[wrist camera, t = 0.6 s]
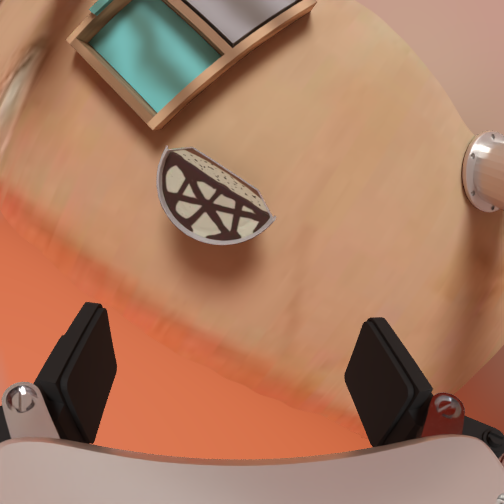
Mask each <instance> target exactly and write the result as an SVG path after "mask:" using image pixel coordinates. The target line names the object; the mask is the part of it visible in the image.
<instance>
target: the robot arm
mask: <svg viewBox="0 0 504 504" xmlns="http://www.w3.org/2000/svg"><path fill="white" fill-rule="evenodd" d="M462 176H463V185H464V189H465V192H466V195H467V197H468V199H469V201H470V202H471V203H472V204H473V205H474V206H475V207H476V208H478V209H479V210H481V211H484V212H494V211H497V210H499V209H502V210H504V136H503V135H502V134H500V133H498V132H494V131H484V132H482V133H480V134H478V135H477V136H476V137H475V138H474V139H473V140H472V142H471V143H470V144H469V147H468V149H467V151H466V154H465V157H464V162H463V173H462ZM116 371H117V364H116V359H115V354H114V349H113V344H112V338H111V332H110V327H109V321H108V314H107V310H106V309H105V308H103V307H102V305H101V304H98V303H90V302H86V303H85V304H84V305H83V307H82V308H81V310H80V311H79V313H78V314H77V316H76V318H75V319H74V321H73V322H72V324H71V325H70V327H69V329H68V330H67V332H66V334H65V335H63V336H61V338H60V339H59V341H58V342H57V344H56V346H55V347H54V349H53V351H52V352H51V354H50V356H49V357H48V359H47V361H46V362H45V364H44V366H43V368H42V369H41V371H40V373H39V375H38V377H37V378H36V380H35V382H34V384H32V383H29V382H20V383H15V384H13V385H11V386H10V387H9V388H8V389H6V391H5V392H4V394H3V397H2V406H0V504H504V435H503V434H502V433H501V432H500V431H499V430H497V429H496V428H493V427H491V426H488V425H486V424H483V423H481V422H479V421H476V420H474V419H471V418H469V417H467V416H465V408H464V406H463V403H462V402H461V401H460V400H459V399H458V398H457V397H456V396H454V395H452V394H449V393H438V394H435V395H434V396H433V394H432V393H431V392H432V390H433V388H432V386H431V385H430V383H429V382H428V380H427V379H426V377H425V376H424V374H423V373H422V371H421V370H420V368H419V367H418V365H417V364H416V362H415V361H414V359H413V358H412V357H411V355H410V354H409V352H408V351H407V349H406V348H405V346H404V345H403V344H402V342H401V341H400V339H399V338H398V336H397V335H396V334H395V332H394V331H393V329H392V328H391V326H390V325H389V324H388V322H387V321H386V320H385V318H382V317H379V318H369V319H368V320H367V321H366V322H364V323H363V325H362V328H361V331H360V334H359V337H358V340H357V342H356V345H355V348H354V351H353V353H352V356H351V359H350V361H349V364H348V367H347V369H346V372H345V382H346V385H347V387H348V390H349V392H350V394H351V397H352V399H353V402H354V404H355V406H356V409H357V411H358V414H359V416H360V419H361V421H362V424H363V426H364V429H365V431H366V434H367V436H368V439H369V441H370V444H371V445H372V446H373V447H372V448H367V449H361V450H355V451H349V452H342V453H335V454H327V455H318V456H309V457H298V458H282V459H259V460H221V459H199V458H183V457H172V456H162V455H154V454H146V453H139V452H132V451H126V450H119V449H113V448H108V447H102V446H97V445H92V444H93V443H94V441H95V438H96V434H97V430H98V428H99V424H100V421H101V418H102V414H103V411H104V408H105V405H106V402H107V399H108V396H109V393H110V390H111V387H112V384H113V381H114V378H115V375H116ZM89 443H92V444H89Z"/></svg>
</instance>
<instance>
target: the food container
mask: <svg viewBox="0 0 504 504" xmlns="http://www.w3.org/2000/svg"><path fill="white" fill-rule="evenodd" d="M157 191H158V197H159V200H160V203H161V206H162V207H163V209H164V211H165V213H166V215H167V216H168V218H169V219H170V220H171V222H172V223H173V224H174V225H175V226H176V227H177V228H178V229H179V230H181V231H182V232H183V233H185V234H186V235H188V236H190V237H191V238H193V239H195V240H198V241H201V242H204V243H208V244H213V245H231V244H237V243H241V242H245V241H247V240H249V239H252V238H254V237H255V236H257V235H259V234H260V233H262V232H263V231H264V230H266V229H267V228H268V227H269V226H270V225H271V224H272V223H273V222H274V221H275V219H276V216H274V217H273V216H272V214H271V212H270V210H269V208H268V207H267V205H266V203H265V201H264V199H263V197H262V195H261V193H260V191H259V190H258V189H256V188H255V187H253V186H252V185H250V184H249V183H247V182H246V181H245V180H243V179H242V178H240V177H239V176H237V175H236V174H234V173H232V172H231V171H229V170H228V169H226V168H225V167H223V166H222V165H220V164H219V163H217V162H216V161H214V160H213V159H211V158H209V157H208V156H206V155H205V154H203V153H202V152H200V151H199V150H197V149H195V148H194V147H185V148H175V149H168V146H166V147H165V149H164V151H163V153H162V156H161V159H160V162H159V165H158V171H157Z"/></svg>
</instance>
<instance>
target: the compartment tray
mask: <svg viewBox="0 0 504 504" xmlns="http://www.w3.org/2000/svg"><path fill="white" fill-rule="evenodd" d="M162 1H163V2H162ZM162 1H161V0H98V1H97V2H96V3H95V4H94V5H93V6H92V7H91V8H90V9H89V10H90V11H91V13H90V14H89V15H88V16H87V17H86V18H85V19H84V20H83V21H82V23H81V24H80V25H79V26H78V27H77V28H76V29H75V30H74V31H73V32H72V33H71V34H70V36H69V37H68V38H67V39H66V41H67V42H68V43H69V44H70V45H71V46H72V47H73V48H74V49H75V50H76V51H77V52H78V53H79V54H80V55H81V56H82V57H83V58H84V59H85V60H86V61H87V62H88V63H89V64H90V65H91V67H92V68H93V69H94V70H95V71H96V72H97V73H98V74H99V75H100V76H101V77H102V78H103V79H104V80H105V81H106V82H107V83H108V84H109V85H110V86H111V87H112V88H113V89H114V90H115V91H116V92H117V93H118V95H119V96H120V97H121V98H122V99H123V100H124V101H125V102H126V103H127V104H128V105H129V106H130V107H131V108H132V109H133V110H134V111H135V112H136V113H137V114H138V115H139V116H140V118H141V119H142V120H143V121H144V122H145V123H146V124H147V125H148V126H149V127H150V128H151V129H152V130H159V129H161V128H162V127H163V126H165V125H166V124H167V123H168V122H169V121H170V120H171V119H172V118H173V117H174V116H175V115H176V114H177V113H178V112H179V111H180V110H181V109H183V108H184V107H185V106H186V105H187V104H188V103H189V102H190V101H191V100H193V99H194V98H195V97H196V96H197V95H198V94H199V93H200V92H202V91H203V90H204V89H205V88H206V87H207V86H209V85H210V84H211V83H212V82H213V81H215V80H216V79H217V78H218V77H219V76H221V75H222V74H223V73H224V72H226V71H227V70H228V69H229V68H230V67H232V66H233V65H234V64H236V63H237V62H238V61H239V60H241V59H242V58H243V57H245V56H246V55H247V54H249V53H250V52H251V51H253V50H254V49H255V48H257V47H258V46H259V45H261V44H262V43H264V42H265V41H266V40H268V39H269V38H271V37H272V36H273V35H275V34H276V33H278V32H279V31H281V30H282V29H284V28H285V27H287V26H288V25H290V24H291V23H293V22H294V21H296V20H297V19H299V18H300V17H302V16H304V15H305V14H307V13H308V12H310V11H311V10H312V8H313V7H314V5H315V4H316V3H317V1H316V0H162ZM164 2H165V3H166V4H167V5H168V6H169V7H170V8H171V9H170V8H169V7H168V6H167V5H166V4H165V3H164ZM172 9H173V10H174V11H175V12H176V13H177V14H178V15H179V16H178V15H177V14H176V13H175V12H174V11H173V10H172ZM181 17H182V18H183V19H184V20H185V21H186V22H187V23H188V24H189V25H190V26H191V27H190V26H189V25H188V24H187V23H186V22H185V21H184V20H183V19H182V18H181ZM192 27H193V28H194V29H195V30H196V31H197V32H198V33H199V34H200V35H201V36H202V37H203V38H204V39H205V40H206V41H207V42H208V43H209V44H210V45H211V46H212V47H213V48H212V47H211V46H210V45H209V44H208V43H207V42H206V41H205V40H204V39H203V38H202V37H201V36H200V35H199V34H198V33H197V32H196V31H195V30H194V29H193V28H192ZM216 50H217V51H218V52H219V53H220V54H221V55H222V56H221V55H220V54H219V53H218V52H217V51H216ZM106 61H107V62H108V63H109V64H110V65H111V66H112V67H113V68H114V69H115V70H116V71H117V72H118V73H119V74H120V75H121V76H122V77H123V78H124V79H125V80H126V81H127V82H128V83H129V84H130V85H131V86H132V87H133V88H134V89H135V90H136V91H137V92H138V93H139V94H140V95H141V96H142V97H143V98H144V99H145V100H144V99H143V98H142V97H141V96H140V95H139V94H138V93H137V92H136V91H135V90H134V89H133V88H132V87H131V86H130V85H129V84H128V83H127V82H126V81H125V80H124V79H123V78H122V77H121V76H120V75H119V74H118V73H117V72H116V71H115V70H114V69H113V68H112V67H111V66H110V65H109V64H108V63H107V62H106ZM150 106H151V107H152V108H153V109H154V110H155V111H156V112H157V113H156V112H155V111H154V110H153V109H152V108H151V107H150Z"/></svg>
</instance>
